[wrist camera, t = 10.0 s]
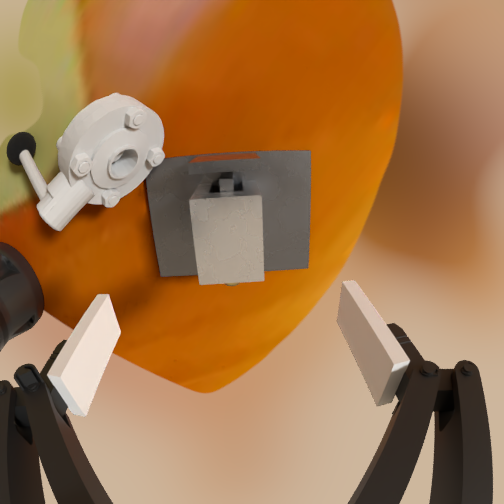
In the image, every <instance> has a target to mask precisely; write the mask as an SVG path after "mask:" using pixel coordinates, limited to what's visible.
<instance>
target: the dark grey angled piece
mask: <svg viewBox="0 0 504 504" xmlns="http://www.w3.org/2000/svg"><path fill="white" fill-rule="evenodd" d="M252 180H255V181H256V183H257V185H258V188H259V190H260V192H261V195H262V219H263V252H264V271H274V270H290V269H304V268H308V262H309V238H310V201H311V151H310V150H282V151H248V152H229V153H214V154H201V155H190V156H180V157H171V158H164V159H163V161H162V163H161V164H159V165H157V166H155V167H153V169H152V170H151V171H150V173H149V174H148V175H147V177H146V184H147V192H148V200H149V208H150V215H151V222H152V228H153V235H154V241H155V247H156V253H157V258H158V264H159V269H160V274H161V277H165V276H186V275H198V270H197V263H196V255H195V247H194V239H193V231H192V222H191V213H190V204H189V199H190V198H191V196H192V195H193V193H194V192H195V190H196V188H197V187H198V185H199V184H205V183H212V185H213V193H216V192H231V191H243V185H242V181H252Z"/></svg>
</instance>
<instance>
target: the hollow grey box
mask: <svg viewBox="0 0 504 504" xmlns="http://www.w3.org/2000/svg"><path fill="white" fill-rule="evenodd" d="M242 185H243V191H231V192H216V193H213V185H212V183H205V184H199V185H198V187H197V188H196V190H195V192H194V193H193V195H192V196H191V198H190V199H189V204H190V213H191V222H192V231H193V239H194V247H195V255H196V263H197V270H198V277H199V284H200V285H204V284H222V283H224V284H225V285H227V286H235V285H238V284H239V283H240V282H255V281H264V252H263V219H262V195H261V192H260V190H259V188H258V185H257V183H256V181H255V180H252V181H242Z"/></svg>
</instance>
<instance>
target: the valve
mask: <svg viewBox="0 0 504 504" xmlns="http://www.w3.org/2000/svg"><path fill="white" fill-rule="evenodd" d="M163 141H164V128H163V125H162V121H161V120H160V118H159V116H158V115H157V114H156V113H155V112H154V111H152V110H151V109H149V108H148V107H146V106H145V105H144V104H142V103H141V102H139V101H138V100H136V99H134V98H133V97H129V96H126V95H120V94H118V93H113V94H111V95H110V96H106V97H104V98H101V99H98V100H96V101H94V102H93V103H91V104H90V105H88V106H87V107H85V108H84V109H83V110H81V111H80V112H79V113H78V114H77V115H76V116H75V117H74V119H73V120H72V121H71V123H70V124H69V126H68V127H67V129H66V130H65V132H64V134H63V136H61V137H60V138H59V140H58V141H57V149H58V150H59V151H58V165H59V169H60V172H59V173H58V175H57V176H56V177H55V178H54V179H53V180H52V181H51V182H50V183H49V184H48V185H47V184H46V182H45V180H44V178H43V177H42V175H41V173H40V171H39V169H38V168H37V166H36V164H35V162H34V160H33V158H32V157H33V155H34V153H35V150H36V143H35V140H34V137H33V136H32V135H31V134H30V133H27V132H19V133H17V134H15V135H14V136H13V137H12V138H11V139H10V141H9V143H8V146H7V156H8V159H9V160H10V161H11V162H12V163H13V164H15V165H23V167H24V169H25V171H26V173H27V175H28V177H29V180H30V182H31V184H32V186H33V188H34V190H35V191H36V193H37V195H38V197H39V199H40V202H39V203H38V204H37V209H38V211H39V215H40V216H41V217H42V219H43V220H44V221H45V222H46V223H47V224H48V225H50V226H51V227H52V228H53V229H55V230H57V231H61V230H62V229H63V228H64V227H65V226H66V225H67V224H68V223H69V221H70V220H71V219H72V218H73V217H74V216H75V215H76V214H77V213H78V212H79V211H80V210H81V209H82V208H83V207H84V205H85V204H86V203H87V202H88V203H90V204H103V205H104V206H105V207H113V206H115V205H116V204H117V203H118V202H119V200H120V198H122V197H124V196H125V195H127V194H128V193H130V192H131V191H132V190H133V189H135V188H136V187H137V186H138V185H139V184H140V183H141V182H142V181H143V180H144V179H145V178H146V177H147V175H148V174H149V173H150V171H151V170H152V169H153V167H155V166H157V165H159V164H161V163H162V161H163V159H164V157H165V154H164V152H163V150H162V146H163Z"/></svg>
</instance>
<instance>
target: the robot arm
mask: <svg viewBox="0 0 504 504" xmlns="http://www.w3.org/2000/svg"><path fill="white" fill-rule="evenodd" d="M43 309H44V298H43V293H42V289H41V286H40V283H39V281H38V278H37V276H36V274H35V272H34V271H33V269H32V267H31V266H30V264H29V263H28V262H27V260H26V259H25V258H24V257H23V256H22V255H21V254H20V253H19V252H18V251H17V250H16V249H15V248H13V247H12V246H10V245H8V244H6V243H3V242H0V351H1V350H2V348H3V347H4V346H5V344H6V343H7V342H8V341H9V340H10V339H12V338H14V337H16V336H18V335H19V334H21V333H23V332H25V331H27V330H29V329H31V328H32V327H33V326H34V325H35V324H36V323H37V321H38V320H39V319H40V317H41V316H42V313H43ZM337 323H338V325H339V327H340V329H341V331H342V333H343V335H344V337H345V339H346V341H347V343H348V345H349V347H350V349H351V352H352V354H353V356H354V357H355V360H356V362H357V364H358V366H359V368H360V371H361V372H362V375H363V377H364V379H365V381H366V383H367V385H368V388H369V390H370V392H371V394H372V397H373V399H374V401H375V403H376V406H380V405H384V404H387V403H391V402H392V401H393V398H394V396H395V394H396V396H397V398H398V400H399V402H398V403H397V405H396V407H395V409H394V411H393V413H392V414H393V415H392V418H391V420H390V423H389V425H388V427H387V430H386V432H385V434H384V436H383V438H382V441H381V443H380V445H379V447H378V449H377V451H376V453H375V455H374V457H373V459H372V461H371V463H370V465H369V467H368V469H367V471H366V473H365V475H364V476H363V478H362V480H361V482H360V484H359V485H358V487H357V489H356V491H355V492H354V494H353V496H352V497H351V499H350V501H349V502H348V504H399V503H400V501H401V499H402V497H403V495H404V492H405V490H406V488H407V485H408V483H409V481H410V478H411V476H412V473H413V471H414V468H415V465H416V463H417V460H418V457H419V454H420V452H421V449H422V446H423V443H424V440H425V436H426V433H427V430H428V426H429V423H430V419H431V416H432V412H433V411H434V412H435V442H434V464H433V478H432V487H431V496H430V503H429V504H492V501H493V470H492V469H493V468H492V451H491V439H490V430H489V423H488V416H487V410H486V403H485V397H484V392H483V387H482V382H481V377H480V373H479V370H478V368H477V366H476V365H475V364H474V363H472V362H470V361H466V360H463V361H459V362H458V363H457V364H456V366H455V368H454V369H439V367H438V366H437V365H436V364H435V363H433V362H430V361H425V360H424V359H423V358H422V356H421V355H420V353H419V352H418V350H417V349H416V347H415V346H414V345H413V343H412V342H411V341H410V339H409V338H408V337H407V335H406V333H405V332H404V331H403V329H402V328H400V327H399V326H398V325H396V324H394V323H392V324H387V325H386V324H385V322H384V321H383V319H382V318H381V316H380V315H379V313H378V312H377V311H376V309H375V308H374V306H373V305H372V303H371V302H370V301H369V299H368V298H367V296H366V295H365V294H364V292H363V291H362V290H361V288H360V287H359V285H358V284H357V283H356V281H355V280H353V281H343V282H342V287H341V295H340V302H339V310H338V317H337ZM120 334H121V331H120V328H119V325H118V322H117V319H116V316H115V313H114V310H113V306H112V303H111V300H110V297H109V294H98V295H97V296H96V297H95V299H94V300H93V302H92V303H91V305H90V306H89V308H88V309H87V311H86V312H85V314H84V315H83V317H82V318H81V320H80V321H79V323H78V324H77V326H76V327H75V329H74V331H73V332H72V334H71V335H70V337H69V339H68V340H63V341H62V342H61V343H60V344H58V345H57V347H56V348H55V350H54V351H53V354H51V356H50V359H49V360H48V361H47V363H46V364H45V366H44V368H43V369H42V371H41V373H40V374H39V372H38V370H37V369H36V367H35V366H34V365H33V364H25V365H22V366H21V367H19V368H18V369H17V370H16V372H15V374H14V379H15V381H16V382H17V383H18V385H19V387H15V388H13V387H12V385H11V384H10V382H9V381H7V380H2V381H0V504H45V499H44V493H43V487H42V480H41V473H40V464H39V457H40V460H41V463H42V466H43V468H44V471H45V474H46V476H47V479H48V481H49V484H50V486H51V489H52V491H53V493H54V496H55V498H56V500H57V502H58V504H113V503H112V501H111V499H110V498H109V497H108V495H107V493H106V491H105V490H104V488H103V486H102V485H101V483H100V481H99V479H98V478H97V476H96V474H95V472H94V470H93V468H92V467H91V465H90V463H89V461H88V459H87V457H86V455H85V453H84V451H83V449H82V447H81V445H80V442H79V440H78V438H77V436H76V434H75V431H74V429H73V427H72V424H71V422H70V419H69V417H68V416H67V414H66V413H65V412H66V410H67V408H69V409H70V410H71V412H72V413H73V414H74V415H79V416H84V417H86V415H87V413H88V410H89V407H90V405H91V402H92V400H93V397H94V395H95V392H96V389H97V387H98V384H99V382H100V380H101V377H102V374H103V372H104V370H105V368H106V365H107V363H108V361H109V358H110V356H111V354H112V351H113V349H114V347H115V345H116V342H117V340H118V338H119V336H120Z"/></svg>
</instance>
